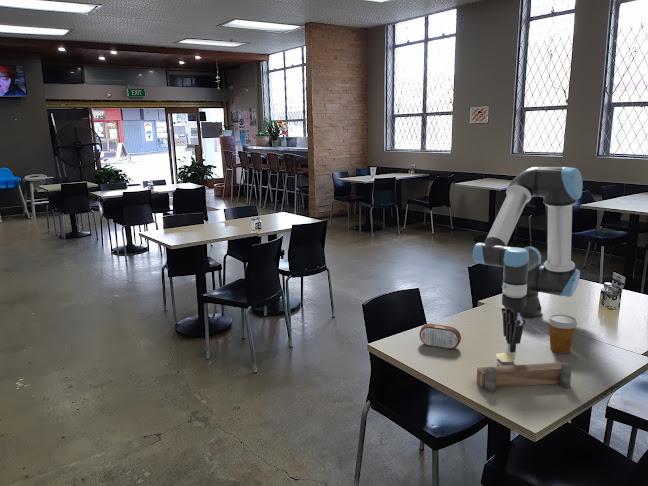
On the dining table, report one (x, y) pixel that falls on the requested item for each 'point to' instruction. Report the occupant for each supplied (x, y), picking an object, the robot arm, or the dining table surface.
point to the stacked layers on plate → (504, 359)
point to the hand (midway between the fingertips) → (510, 359)
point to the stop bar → (524, 375)
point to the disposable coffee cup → (561, 332)
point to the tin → (440, 336)
